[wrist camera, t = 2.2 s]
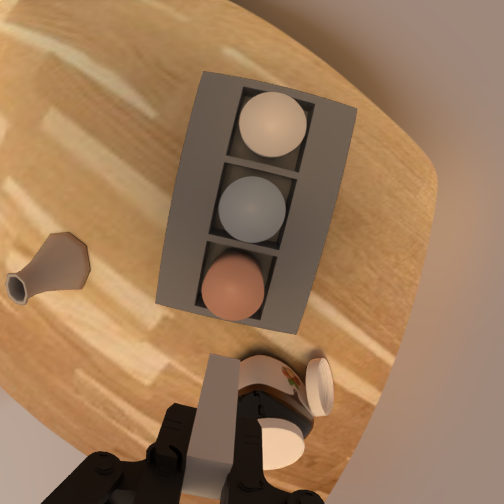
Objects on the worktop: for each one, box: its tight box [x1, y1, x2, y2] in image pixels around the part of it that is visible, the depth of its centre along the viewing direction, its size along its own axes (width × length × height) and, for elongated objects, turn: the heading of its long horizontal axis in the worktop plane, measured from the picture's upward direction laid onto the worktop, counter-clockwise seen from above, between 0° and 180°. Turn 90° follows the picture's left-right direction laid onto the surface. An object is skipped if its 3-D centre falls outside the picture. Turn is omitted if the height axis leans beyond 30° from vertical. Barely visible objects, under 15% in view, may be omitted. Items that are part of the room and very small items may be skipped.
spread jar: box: [236, 354, 334, 470], centre depth 30 cm, size 12×11×12 cm
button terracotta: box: [202, 251, 264, 321], centre depth 28 cm, size 5×5×4 cm
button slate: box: [219, 176, 286, 243], centre depth 26 cm, size 5×5×4 cm
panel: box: [155, 71, 357, 335], centre depth 29 cm, size 22×14×4 cm, turn 167°
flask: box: [5, 232, 90, 305], centre depth 27 cm, size 7×7×10 cm
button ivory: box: [239, 92, 307, 159], centre depth 24 cm, size 5×5×4 cm
